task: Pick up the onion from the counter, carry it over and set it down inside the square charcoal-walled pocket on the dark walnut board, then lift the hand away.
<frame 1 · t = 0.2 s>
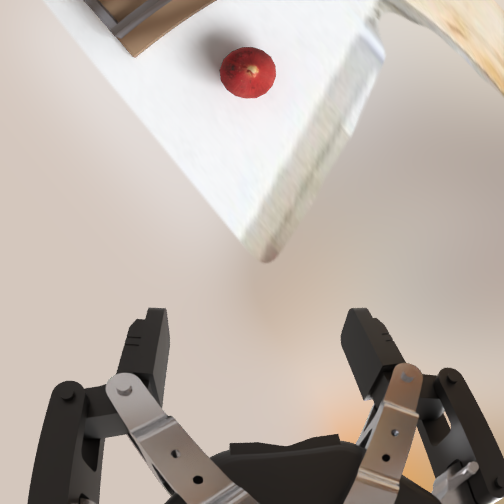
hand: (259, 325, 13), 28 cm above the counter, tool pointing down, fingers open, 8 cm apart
onion: (245, 74, 33), on the counter
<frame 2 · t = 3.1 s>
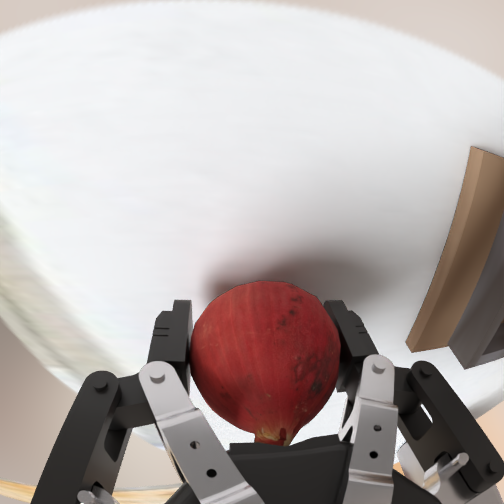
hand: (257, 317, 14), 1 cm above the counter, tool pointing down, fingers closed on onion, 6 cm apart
onion: (255, 296, 15), on the counter, touching gripper
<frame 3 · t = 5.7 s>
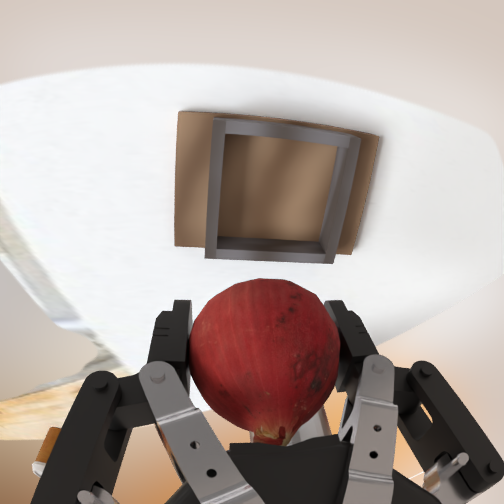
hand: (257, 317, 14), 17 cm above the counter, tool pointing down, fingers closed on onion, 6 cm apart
pocket board: (274, 185, 29), on the counter
disposable coffee cup: (62, 433, 51), on the counter
onion: (254, 294, 15), point 16 cm above the counter, touching gripper
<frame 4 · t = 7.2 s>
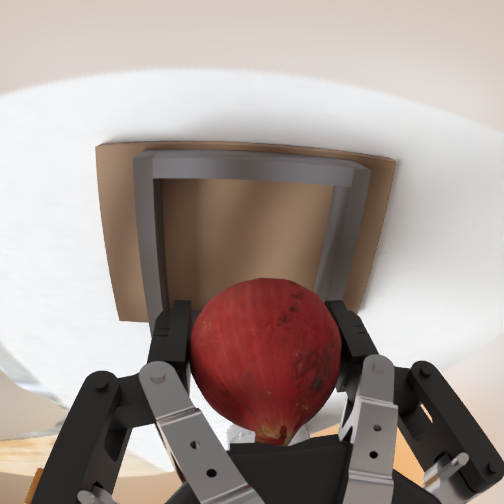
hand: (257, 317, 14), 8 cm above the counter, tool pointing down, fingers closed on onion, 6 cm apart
pocket board: (244, 240, 21), on the counter
disposable coffee cup: (50, 474, 42), on the counter
onion: (255, 293, 15), point 6 cm above the counter, touching gripper
when the fingers open (4 cm above the counter, at t = 8.4 s): onion drops 2 cm, resting on pocket board.
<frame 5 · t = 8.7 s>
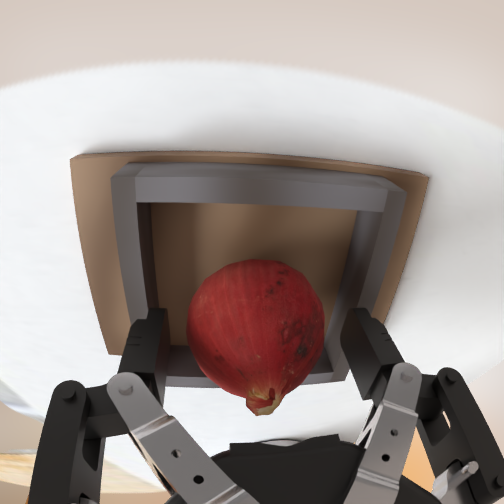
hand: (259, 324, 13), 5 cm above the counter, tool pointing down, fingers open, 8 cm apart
pocket board: (250, 268, 17), on the counter
onion: (247, 276, 17), point 1 cm above the counter, touching pocket board
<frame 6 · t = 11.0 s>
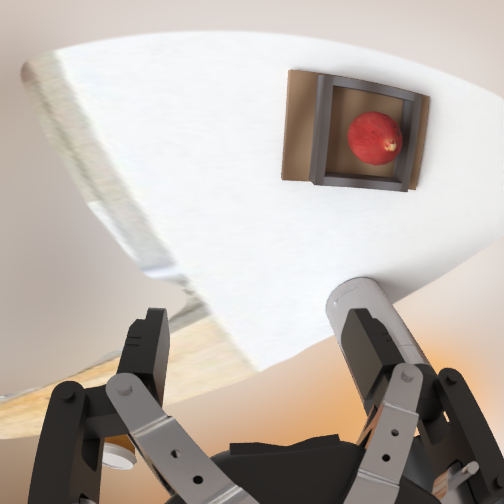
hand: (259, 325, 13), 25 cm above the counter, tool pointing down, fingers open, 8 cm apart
pocket board: (359, 132, 34), on the counter
disposable coffee cup: (120, 413, 56), on the counter
onion: (360, 132, 33), point 1 cm above the counter, touching pocket board
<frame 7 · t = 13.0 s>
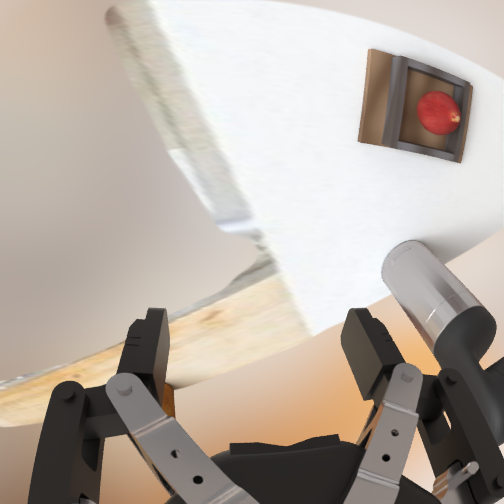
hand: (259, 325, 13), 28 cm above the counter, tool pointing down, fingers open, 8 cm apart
pocket board: (419, 108, 35), on the counter
disposable coffee cup: (158, 389, 57), on the counter
onion: (422, 109, 35), point 1 cm above the counter, touching pocket board
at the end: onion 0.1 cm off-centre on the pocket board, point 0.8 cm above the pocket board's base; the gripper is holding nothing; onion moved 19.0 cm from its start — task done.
